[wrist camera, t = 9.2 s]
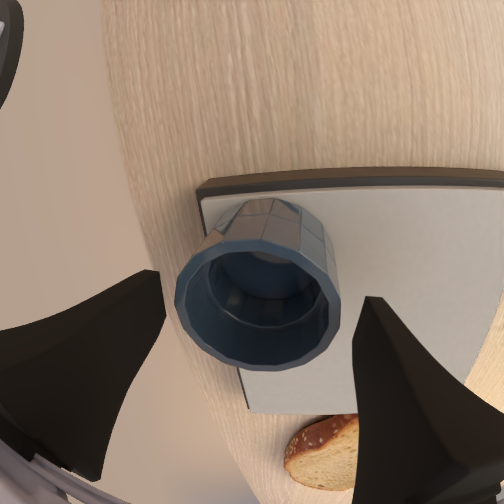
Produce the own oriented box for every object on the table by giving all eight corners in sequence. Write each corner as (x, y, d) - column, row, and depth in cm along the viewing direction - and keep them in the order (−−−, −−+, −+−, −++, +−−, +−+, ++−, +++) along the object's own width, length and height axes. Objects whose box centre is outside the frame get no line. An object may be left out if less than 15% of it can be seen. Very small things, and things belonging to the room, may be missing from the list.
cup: (190, 257, 14) (150, 315, 10) (259, 167, 12) (234, 200, 8) (279, 321, 15) (267, 389, 11) (358, 249, 13) (375, 313, 9)
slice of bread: (323, 482, 32) (321, 503, 29) (233, 441, 28) (226, 469, 25) (439, 443, 25) (443, 468, 21) (381, 389, 21) (386, 426, 17)
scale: (206, 178, 15) (186, 193, 13) (503, 171, 12) (530, 184, 9) (250, 388, 23) (244, 415, 20) (449, 376, 19) (457, 401, 17)
